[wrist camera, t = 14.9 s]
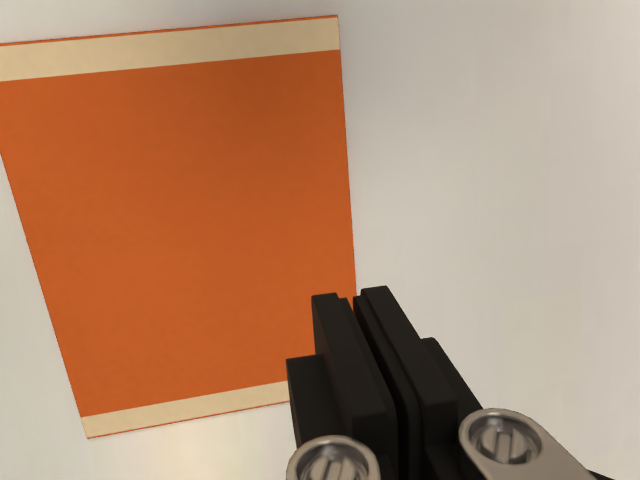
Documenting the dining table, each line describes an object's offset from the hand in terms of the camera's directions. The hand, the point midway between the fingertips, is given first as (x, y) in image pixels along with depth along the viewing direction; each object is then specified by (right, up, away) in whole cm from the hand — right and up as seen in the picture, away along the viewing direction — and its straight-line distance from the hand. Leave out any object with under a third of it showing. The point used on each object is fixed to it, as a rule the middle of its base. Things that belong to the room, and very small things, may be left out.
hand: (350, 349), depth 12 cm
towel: (-8, +2, +22) cm, 24 cm away
